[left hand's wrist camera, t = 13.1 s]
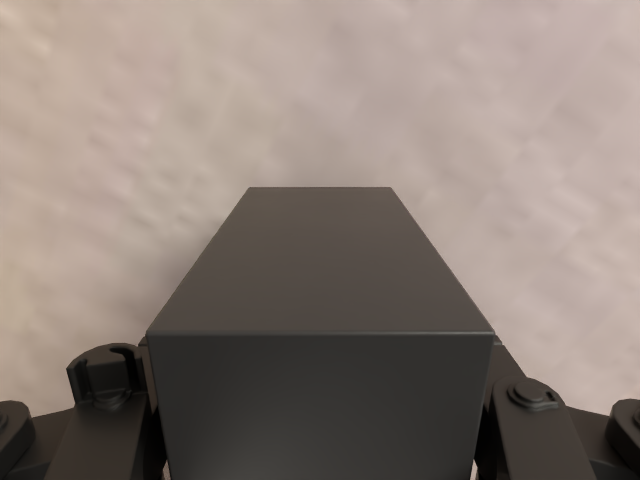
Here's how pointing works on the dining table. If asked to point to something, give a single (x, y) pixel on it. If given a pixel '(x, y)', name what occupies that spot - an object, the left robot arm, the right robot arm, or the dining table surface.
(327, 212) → the bar
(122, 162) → the dining table surface
